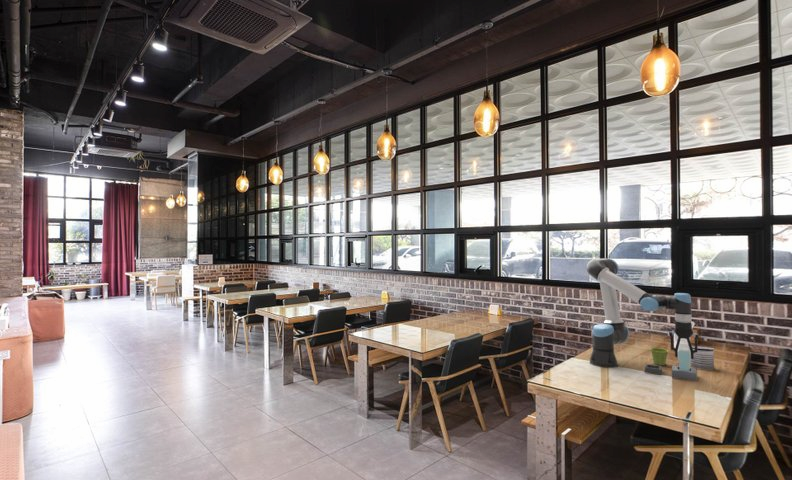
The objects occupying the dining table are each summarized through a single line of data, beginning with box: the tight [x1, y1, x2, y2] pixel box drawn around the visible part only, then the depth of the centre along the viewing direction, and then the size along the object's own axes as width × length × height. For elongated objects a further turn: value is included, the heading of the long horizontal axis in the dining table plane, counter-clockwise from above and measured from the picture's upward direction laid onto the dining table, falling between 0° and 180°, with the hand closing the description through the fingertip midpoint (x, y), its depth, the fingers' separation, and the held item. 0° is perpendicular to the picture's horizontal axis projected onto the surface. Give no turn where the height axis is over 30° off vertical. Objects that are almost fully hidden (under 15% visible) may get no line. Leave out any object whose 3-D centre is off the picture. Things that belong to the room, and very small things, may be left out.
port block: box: [671, 365, 698, 382], centre depth 223 cm, size 11×11×4 cm
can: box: [690, 345, 715, 371], centre depth 240 cm, size 11×11×12 cm
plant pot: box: [649, 347, 669, 366], centre depth 246 cm, size 9×9×9 cm
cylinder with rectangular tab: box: [673, 333, 691, 352], centre depth 276 cm, size 9×9×12 cm
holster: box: [644, 363, 663, 376], centre depth 231 cm, size 8×8×3 cm
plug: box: [678, 348, 691, 371], centre depth 223 cm, size 4×4×13 cm
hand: (684, 363), depth 223 cm, fingers closed on plug, 4 cm apart
